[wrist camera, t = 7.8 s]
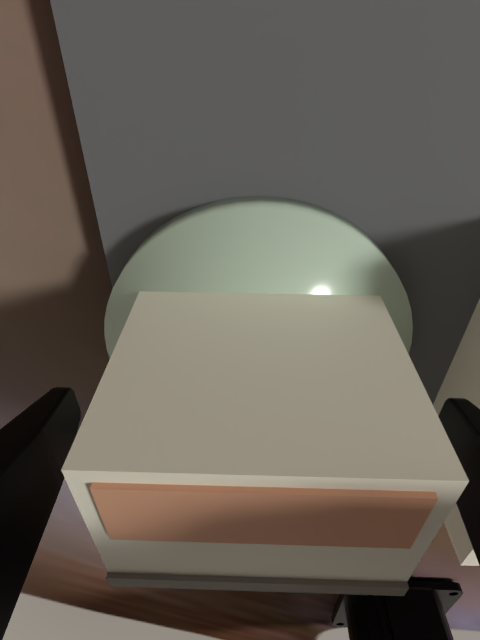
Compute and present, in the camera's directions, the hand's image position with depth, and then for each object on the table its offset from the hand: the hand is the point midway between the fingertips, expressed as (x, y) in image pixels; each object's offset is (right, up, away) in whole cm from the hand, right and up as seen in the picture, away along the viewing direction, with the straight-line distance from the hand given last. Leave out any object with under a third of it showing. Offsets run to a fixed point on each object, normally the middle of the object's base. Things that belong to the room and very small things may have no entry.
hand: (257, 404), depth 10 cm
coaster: (0, +2, +2) cm, 3 cm away
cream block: (0, +1, +1) cm, 2 cm away
